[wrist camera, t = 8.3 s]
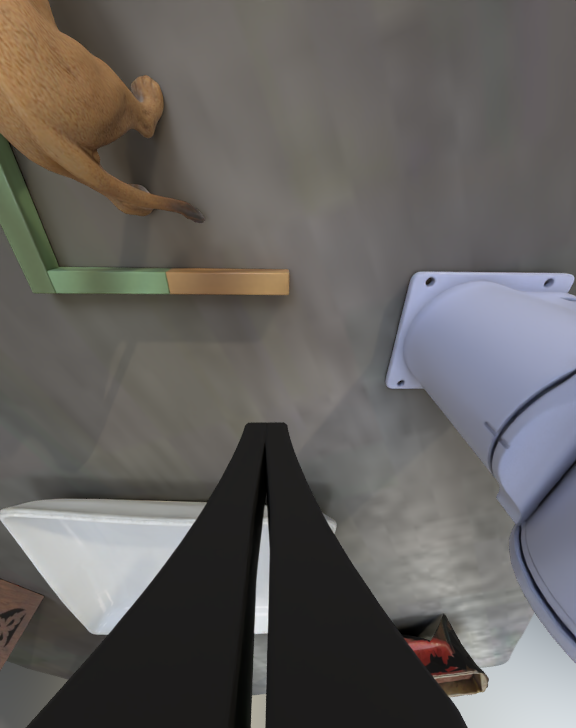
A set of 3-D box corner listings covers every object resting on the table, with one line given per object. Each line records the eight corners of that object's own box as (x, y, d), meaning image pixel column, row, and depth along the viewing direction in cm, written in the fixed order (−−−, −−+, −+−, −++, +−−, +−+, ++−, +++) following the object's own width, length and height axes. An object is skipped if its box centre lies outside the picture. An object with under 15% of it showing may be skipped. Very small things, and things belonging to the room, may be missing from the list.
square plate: (333, 483, 25) (341, 525, 22) (299, 600, 39) (301, 636, 36) (24, 475, 23) (-18, 520, 20) (105, 601, 37) (88, 641, 34)
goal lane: (303, -500, 6) (307, -613, 5) (288, 290, 16) (289, 295, 15) (-342, -582, 6) (-451, -720, 5) (46, 288, 15) (32, 293, 14)
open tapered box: (359, 607, 47) (367, 698, 39) (473, 612, 42) (509, 716, 35) (368, 625, 55) (376, 703, 47) (465, 631, 51) (492, 719, 43)
